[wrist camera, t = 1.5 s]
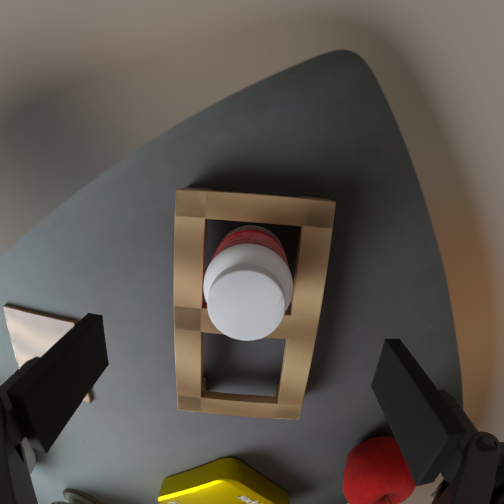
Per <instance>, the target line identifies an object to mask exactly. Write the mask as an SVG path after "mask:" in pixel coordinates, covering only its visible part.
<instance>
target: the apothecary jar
mask: <svg viewBox="0 0 504 504" xmlns="http://www.w3.org/2000/svg"><path fill="white" fill-rule="evenodd" d="M63 495H64V497H65V498H66V500H67V501H68V502H69V503H67V502H61V501H58V502H53V503H51V504H100V503H99V502H97V501H96V500H94V499H93V498H91V497H89V496H87V495H85V494H83V493H81V492H79V491H76V490H72V489H65V490H64V491H63Z"/></svg>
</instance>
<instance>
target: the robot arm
mask: <svg viewBox="0 0 504 504" xmlns="http://www.w3.org/2000/svg"><path fill="white" fill-rule="evenodd" d="M108 365H109V363H108V357H107V350H106V343H105V335H104V327H103V318H102V315H97V314H91V313H88V314H87V315H86V316H85V317H84V318H82V319H81V320H80V321H79V322H78V323H77V324H76V325H75V326H74V327H72V328H71V329H70V330H69V331H68V332H67V333H66V334H65V335H64V336H63V337H62V338H61V339H59V340H58V341H57V342H56V343H55V344H54V345H53V346H52V347H51V348H50V349H49V350H48V351H47V352H46V353H45V354H43V355H42V356H41V357H37V356H36V357H34V358H32V359H30V360H28V361H27V362H25V363H24V364H23V365H22V366H21V367H20V369H18V370H17V371H16V372H15V374H13V375H12V376H11V377H10V378H9V379H8V380H6V381H5V382H4V383H3V384H2V385H1V386H0V504H38V502H37V499H36V495H35V492H34V488H33V485H32V481H31V477H30V473H29V469H28V464H27V460H26V455H25V450H24V447H23V445H22V443H21V442H22V441H23V439H24V438H25V437H26V438H27V440H28V442H29V444H30V446H31V447H32V448H34V449H36V450H39V451H41V452H43V453H46V454H47V452H48V451H49V449H50V448H51V446H52V445H53V443H54V442H55V440H56V439H57V437H58V436H59V434H60V433H61V431H62V430H63V428H64V427H65V425H66V424H67V422H68V421H69V420H70V418H71V417H72V415H73V414H74V412H75V411H76V409H77V408H78V407H79V405H80V404H81V402H82V401H83V399H84V398H85V397H86V395H87V394H88V392H89V391H90V390H91V388H92V387H93V385H94V384H95V383H96V381H97V380H98V378H99V377H100V376H101V374H102V373H103V371H104V370H105V369H106V367H107V366H108ZM371 387H372V389H373V391H374V393H375V396H376V398H377V400H378V402H379V404H380V406H381V408H382V410H383V413H384V415H385V417H386V419H387V421H388V423H389V426H390V428H391V430H392V432H393V434H394V437H395V439H396V441H397V443H398V445H399V448H400V450H401V452H402V454H403V457H404V459H405V461H406V463H407V466H408V468H409V470H410V473H411V475H412V477H413V480H414V482H415V484H416V486H419V485H423V484H428V483H432V482H434V480H435V479H436V478H437V476H438V475H439V473H440V472H441V474H442V476H443V478H444V479H443V481H442V482H441V483H440V485H439V486H438V487H437V489H436V490H435V491H434V493H433V494H432V496H434V495H435V494H436V495H435V497H434V500H433V502H432V504H504V442H499V441H498V439H497V438H496V437H495V436H493V435H492V434H490V433H488V432H478V430H477V429H476V428H475V427H474V425H473V423H472V422H471V421H470V419H469V418H468V417H467V415H466V414H465V412H463V410H462V408H461V407H460V406H458V403H457V402H456V400H455V399H454V398H453V396H451V395H450V394H449V393H447V392H446V391H444V390H437V388H436V387H435V385H434V384H433V383H432V381H431V380H430V379H429V377H428V376H427V375H426V373H425V372H424V371H423V369H422V368H421V367H420V365H419V364H418V363H417V361H416V360H415V359H414V357H413V356H412V355H411V353H410V352H409V351H408V349H407V348H406V347H405V346H404V344H403V343H402V342H401V340H400V339H385V341H384V345H383V348H382V352H381V356H380V359H379V362H378V366H377V369H376V372H375V376H374V379H373V382H372V385H371Z"/></svg>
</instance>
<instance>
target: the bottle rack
mask: <svg viewBox="0 0 504 504" xmlns="http://www.w3.org/2000/svg"><path fill="white" fill-rule="evenodd" d="M335 205H336V202H334V201H331V200H329V199H327V198H318V197H308V196H300V197H291V196H280V195H269V194H257V193H244V192H230V191H216V190H213V189H211V188H193V187H185V188H181V189H176V202H175V229H174V341H175V367H176V386H177V402H178V409H180V410H187V411H194V412H203V413H211V414H220V415H231V416H242V417H256V418H275V419H299V416H300V412H301V408H302V403H303V399H304V394H305V390H306V385H307V380H308V376H309V371H310V366H311V361H312V356H313V351H314V345H315V340H316V335H317V329H318V324H319V318H320V312H321V306H322V300H323V294H324V288H325V281H326V274H327V268H328V261H329V253H330V246H331V238H332V231H333V223H334V214H335ZM207 219H216V220H229V221H242V222H255V223H267V224H279V225H290V226H300V232H299V241H298V250H297V259H296V267H295V276H294V284H293V294H292V300H291V307H290V310H286V312H285V314H284V317H283V319H282V321H281V323H280V325H279V326H278V327H277V328H276V329H275V330H274V331H273V332H272V333H271V334H269V335H267V336H266V337H263V338H276V339H286V343H285V350H284V357H283V364H282V370H281V377H280V383H279V384H276V389H275V396H274V397H271V396H255V395H241V394H230V393H220V392H211V391H206V378H203V332H205V333H215V334H223V333H222V332H221V331H219V330H218V329H217V328H216V326H215V325H214V324H213V322H212V321H211V319H210V317H209V314H208V309H207V303H204V290H203V283H204V277H205V261H206V238H207Z"/></svg>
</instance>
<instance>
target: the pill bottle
mask: <svg viewBox="0 0 504 504" xmlns="http://www.w3.org/2000/svg"><path fill="white" fill-rule="evenodd" d="M203 290H204V296H205V299H206V302H207V309H208V314H209V317H210V319H211V321H212V322H213V324H214V325H215V326H216V328H217V329H218V330H219V331H221V332H222V333H223V334H225V335H227V336H229V337H231V338H234V339H237V340H243V341H251V340H257V339H261V338H263V337H266V336H267V335H269V334H271V333H272V332H273V331H274V330H275V329H276V328H277V327H278V326H279V325H280V323H281V321H282V319H283V317H284V314H285V312H286V310H287V308H288V306H289V304H290V302H291V299H292V294H293V280H292V275H291V273H290V269H289V266H288V262H287V259H286V255H285V252H284V249H283V246H282V244H281V242H280V241H279V239H278V238H277V237H276V236H275V235H274V234H273V233H272V232H270V231H269V230H267V229H265V228H262V227H259V226H253V225H248V226H242V227H239V228H236V229H234V230H232V231H231V232H230V233H228V234H227V235H226V236H225V237H224V238H223V240H222V241H221V243H220V245H219V246H218V248H217V250H216V252H215V254H214V256H213V258H212V260H211V262H210V264H209V266H208V268H207V270H206V273H205V277H204V283H203Z"/></svg>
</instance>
